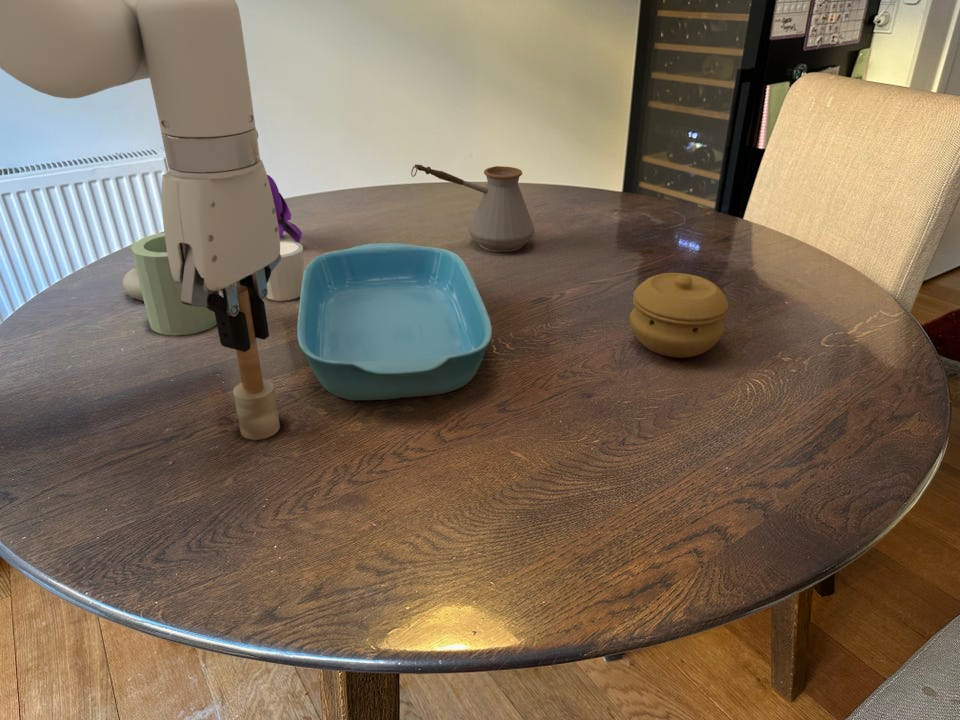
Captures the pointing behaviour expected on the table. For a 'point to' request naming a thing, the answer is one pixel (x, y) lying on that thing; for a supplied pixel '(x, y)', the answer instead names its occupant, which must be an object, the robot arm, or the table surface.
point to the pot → (678, 314)
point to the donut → (132, 285)
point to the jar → (165, 291)
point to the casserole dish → (391, 321)
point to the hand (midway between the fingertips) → (245, 340)
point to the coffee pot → (496, 209)
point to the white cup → (287, 273)
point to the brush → (253, 385)
